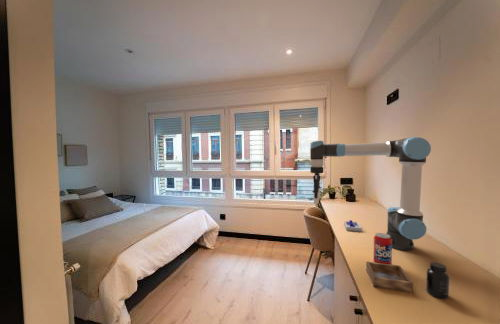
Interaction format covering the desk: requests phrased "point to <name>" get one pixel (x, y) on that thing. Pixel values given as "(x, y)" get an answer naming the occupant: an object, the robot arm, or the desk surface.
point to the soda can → (382, 248)
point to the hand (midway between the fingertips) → (316, 201)
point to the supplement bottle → (437, 281)
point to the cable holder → (351, 223)
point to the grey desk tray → (348, 228)
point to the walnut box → (389, 277)
